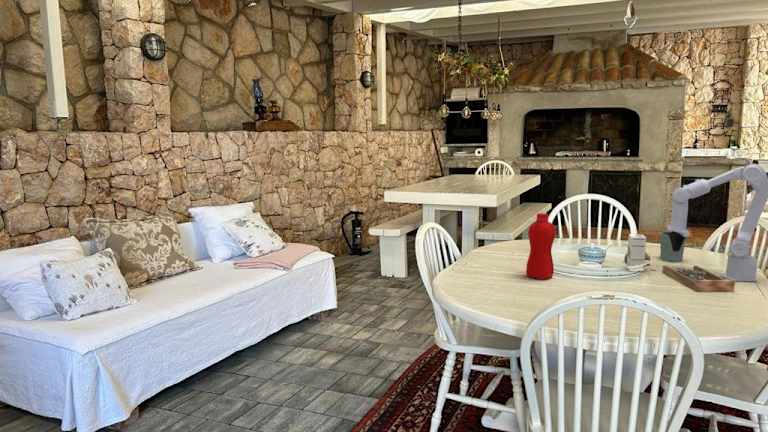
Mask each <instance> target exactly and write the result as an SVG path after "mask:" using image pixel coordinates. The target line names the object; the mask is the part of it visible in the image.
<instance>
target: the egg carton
mask: <svg viewBox="0 0 768 432" xmlns="http://www.w3.org/2000/svg"><path fill="white" fill-rule="evenodd" d="M673 269H674V270H676V271H677V272H679V273H681V274H683V275H685V276H687V277H689V278H691V279H693V280H694V281H695V280H705V279H704V278H705V276H704V275H705V274H707V272H704V271H702V272H699V271H698V272H697V271H693V270H691V269H690V268H685V267H684V268H683V267H674V268H673Z"/></svg>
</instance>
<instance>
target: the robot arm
mask: <svg viewBox="0 0 768 432" xmlns="http://www.w3.org/2000/svg"><path fill="white" fill-rule="evenodd" d="M743 179H744V181H746V182H747V183H748V184H749V185H751V187H752V189H753V190H754V194H753V197H752V199H751V201H750V205H749V207H748V209H747V212H746V213H745V216H744V218H743V221H742V224H741V226H740V229H739V230H738V234H737V235H736V237H735V238H733V240H732V241H731V243H730V245H729V253H727V261H726V271H725V273H721V274H720V277H722V278H723V277H724V279H726V280H734V281H735V282H757V281H758V280H757V272H758V260H757V259H756V257H754V256H751V255H750V254H749V253H750V248H751V240H752V238H753V235H754V232H755V231H756V230H755V229H756V227H757V225H758V222H759V220H760V218H761V216H762V213H763V211H764V208H765V207H766V203H767V201H768V175H767V173H766V170H765V169H763V167H762V166H761V165H760V164H757V163H750V164H748V165H746V166H745V165H744V166H740V167H737V168H733V169H731V170H728V171H726V172H724V173H722V174H719V175H716V176H714V177H713V178H710V179H704V178H701V179H699V178H697V179H695V180H694V182H692V183H689V184H684V185H682V187H679V188H676V189H675V190H674V191H673V192H672V195H671V197H672V200H673V201H672V206H671V215H670V225H669V224H666V231H672V233H668V235H669V237H670V240H671V244H672V250H673V251H679V250H680V248H681V245H682V243H683V241H684V240H685V238H686V239H687V238H689V237H690V236H691V235H690V234H691V233H690V231H689V230H688V229H687V223H688V213H689V212H688V211H689V199H692V200H693V199H695V198H698V197H701V196H703V195H705V194H708V193H710V191H711V189H712V188H713V187H717V186H720V185H722V184H725V183H728V182H731V181H742V180H743Z"/></svg>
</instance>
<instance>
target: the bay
mask: <svg viewBox="0 0 768 432" xmlns="http://www.w3.org/2000/svg"><path fill="white" fill-rule="evenodd" d="M692 271H697V272H698V271H699V272H702V271H704V272H707V274H705V275H704V276H705V278H704V280H695V281H694V280H693V279H691V278H689V277H687V276H685V275H683V274H681V273H679V272H677V271H676V269H675V268H671V267H670V266H668V265H662V274H664V275H666V276H667V277H668V278H669V277H670V278H671V279H672V280H674V281H677V282H678V283H680V284H682V285H684V286H685V287H688V289H690V290H692V291H694V292H697V293H700V292H701V293H702V292H703V293H705V292H706V293H713V292H714V293H718V292H719V293H721V292H722V293H734V292H735V285H736V281H734V280H729V279H727V278H725V277H724V278H723V276H721V275H720V276H719V275H717V274H715V273H713V272H711V271H709V270H707V269H704V268H703V267H700V266H698V265H693V269H692Z"/></svg>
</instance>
